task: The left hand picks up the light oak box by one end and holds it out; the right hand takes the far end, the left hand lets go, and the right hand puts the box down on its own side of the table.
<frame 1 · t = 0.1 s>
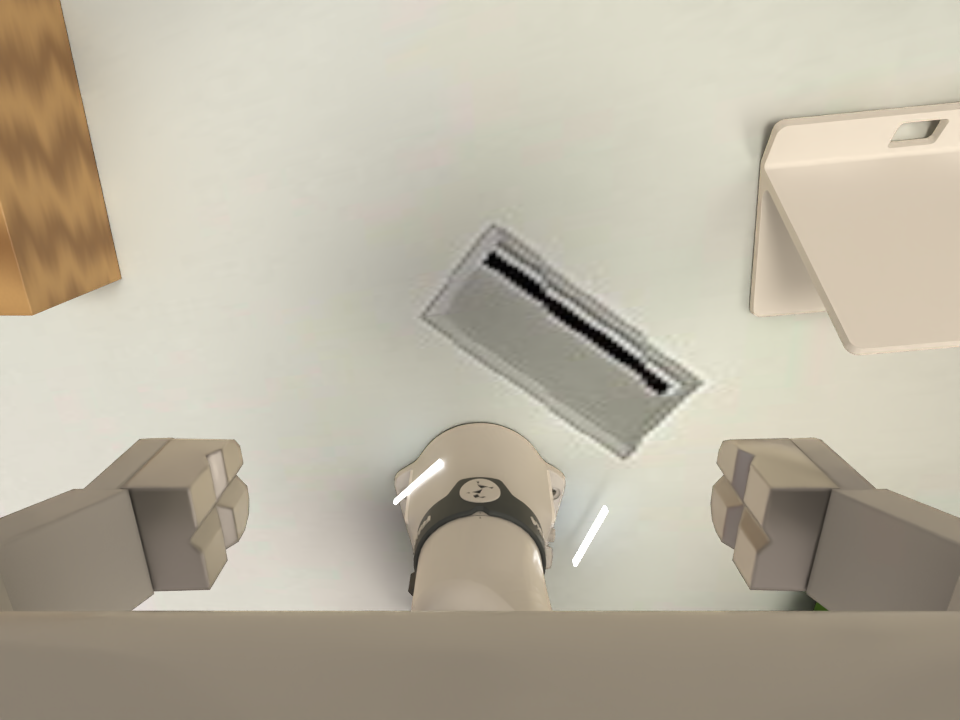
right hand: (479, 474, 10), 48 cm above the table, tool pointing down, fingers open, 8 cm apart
tablet stand: (890, 210, 55), on the table
box: (60, 150, 53), on the table
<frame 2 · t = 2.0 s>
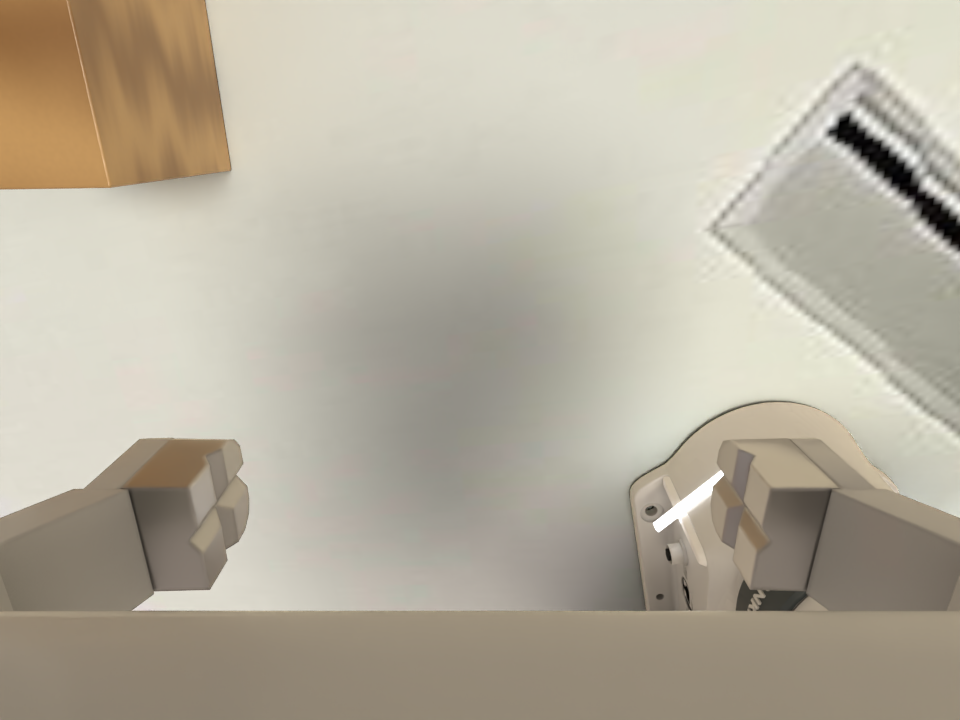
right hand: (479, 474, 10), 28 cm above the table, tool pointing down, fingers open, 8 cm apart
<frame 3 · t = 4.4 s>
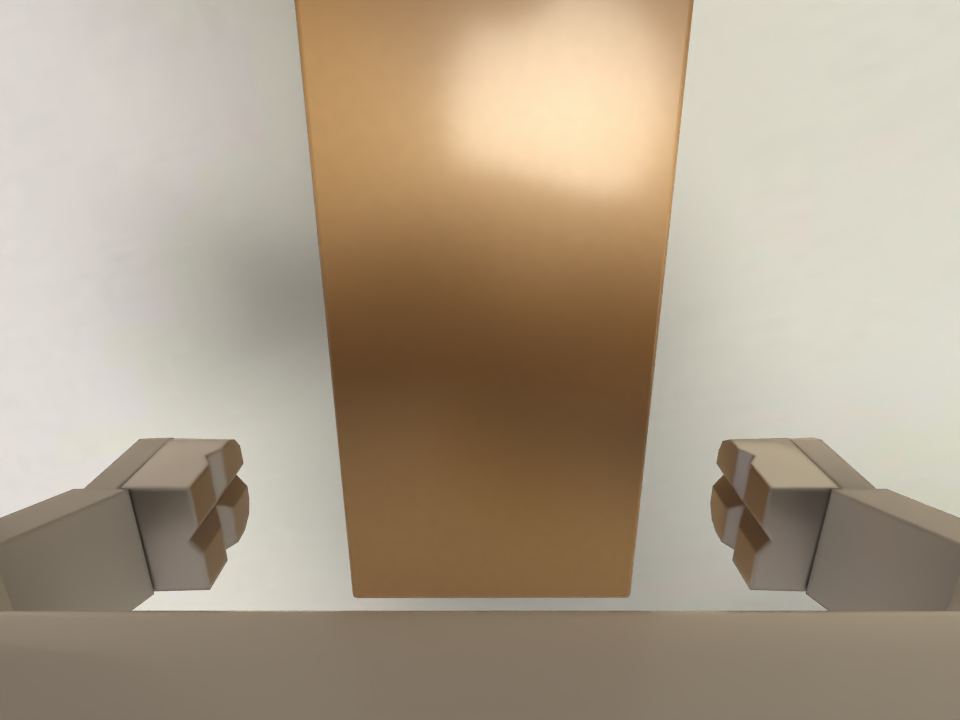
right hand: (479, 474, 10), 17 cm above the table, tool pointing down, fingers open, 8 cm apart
box: (486, 51, 20), point 4 cm above the table, touching left hand
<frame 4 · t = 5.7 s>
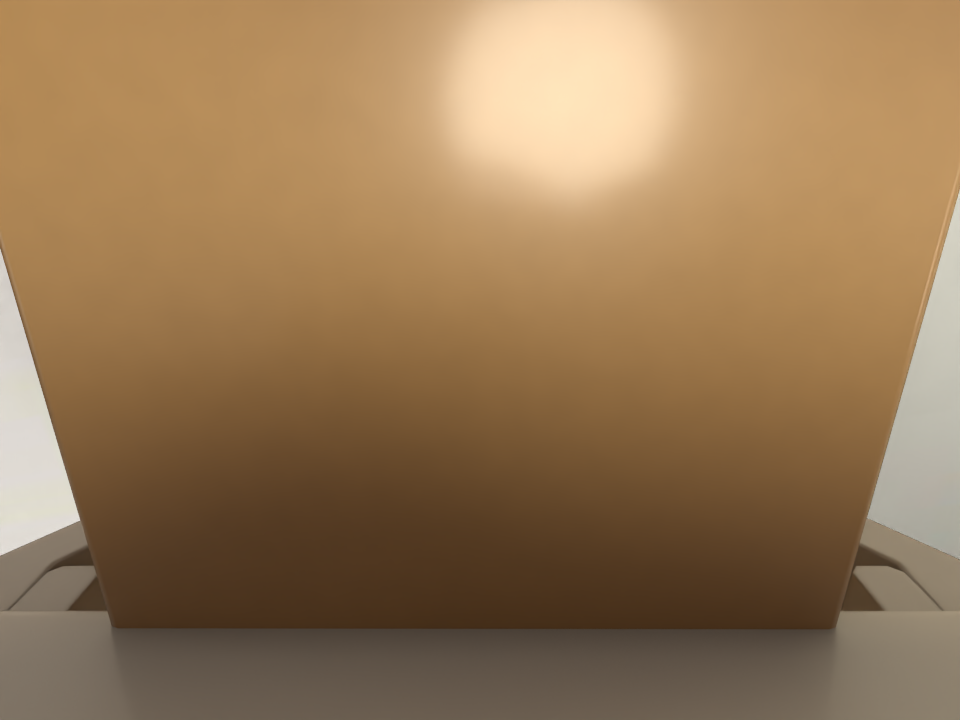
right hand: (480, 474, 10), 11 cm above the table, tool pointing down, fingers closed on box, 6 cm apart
box: (478, 6, 14), point 4 cm above the table, touching right hand, left hand
when the left hand's fingers open (12 cm above the table, at t = 6.8 s): box moves 2 cm, held by the right hand.
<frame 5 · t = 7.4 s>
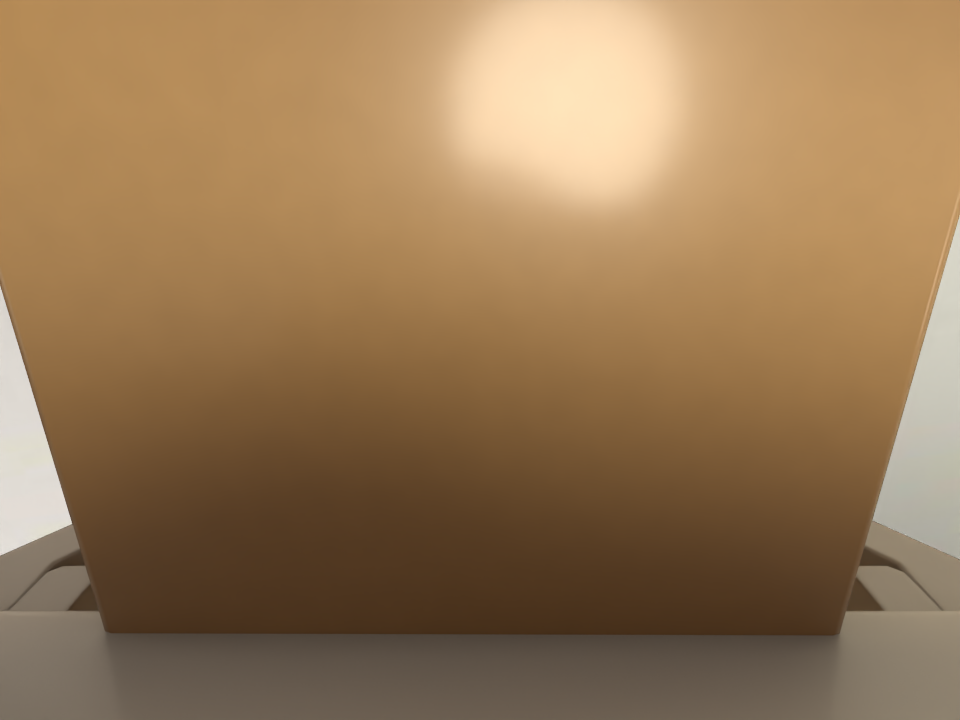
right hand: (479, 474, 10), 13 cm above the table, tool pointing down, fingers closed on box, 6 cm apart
box: (479, 4, 14), point 6 cm above the table, touching right hand
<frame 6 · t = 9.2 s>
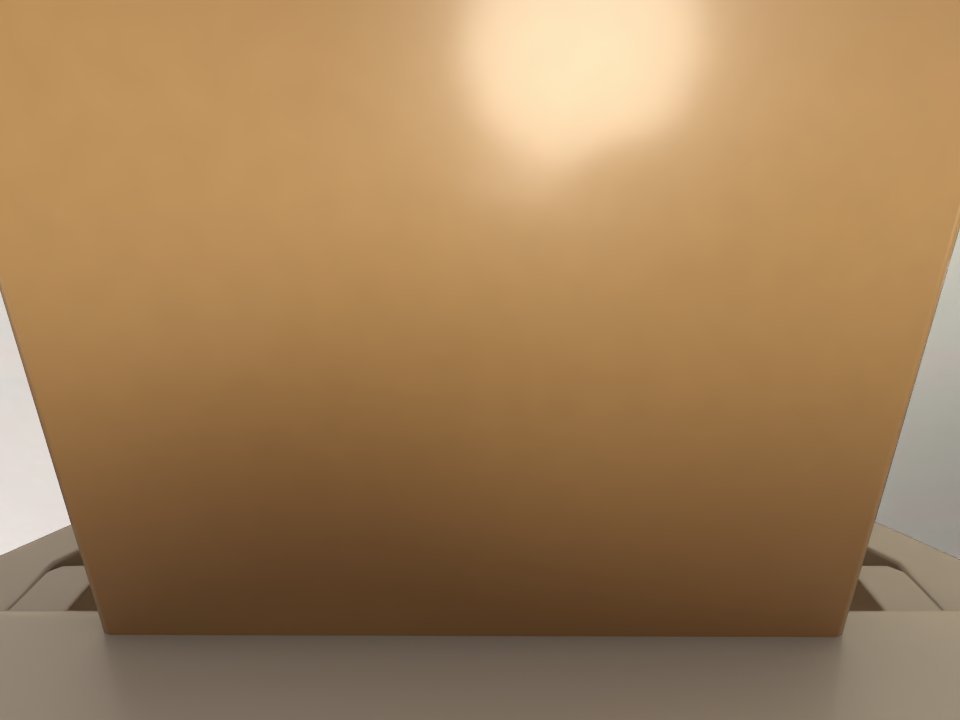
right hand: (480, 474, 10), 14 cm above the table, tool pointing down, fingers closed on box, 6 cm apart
box: (479, 2, 14), point 7 cm above the table, touching right hand
when the right hand's fingers open (9 cm above the table, at t = 11.0 s): box stays where it is, on the table.
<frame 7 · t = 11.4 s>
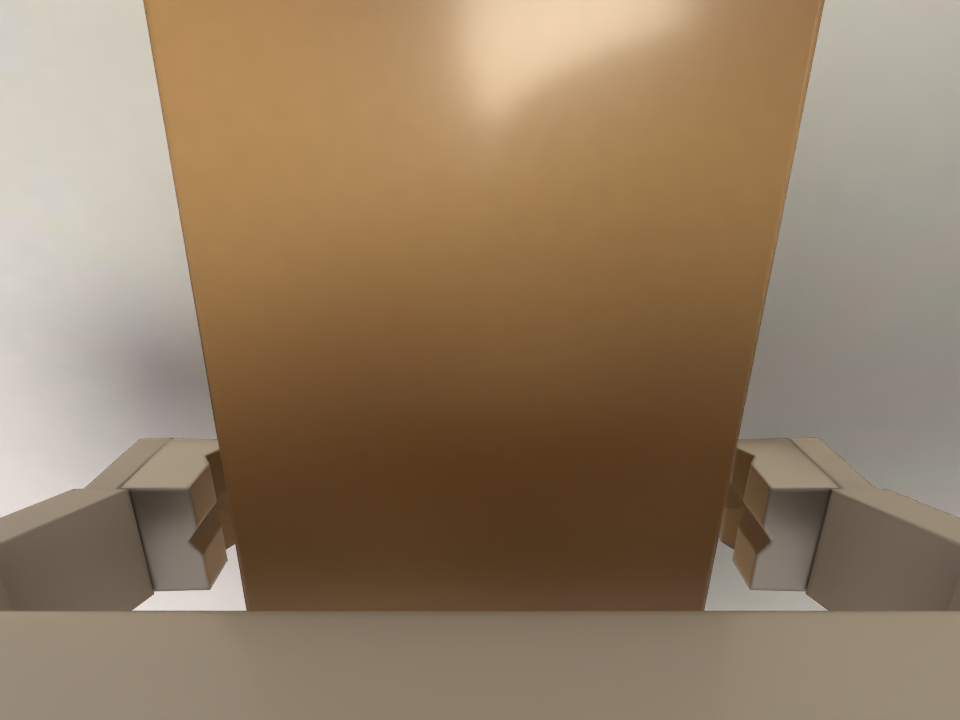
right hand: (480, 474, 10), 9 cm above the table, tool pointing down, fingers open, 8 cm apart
box: (479, 23, 16), on the table
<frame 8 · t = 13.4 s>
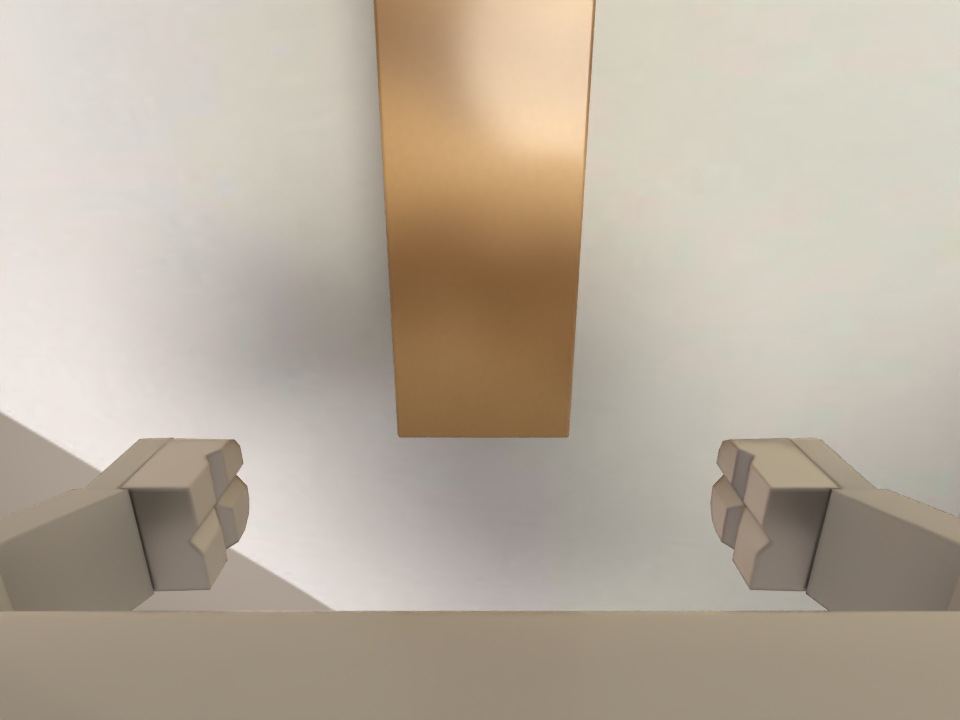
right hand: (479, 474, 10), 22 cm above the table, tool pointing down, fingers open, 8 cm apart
box: (482, 83, 27), on the table
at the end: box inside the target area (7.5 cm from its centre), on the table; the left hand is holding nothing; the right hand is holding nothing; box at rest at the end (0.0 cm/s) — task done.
